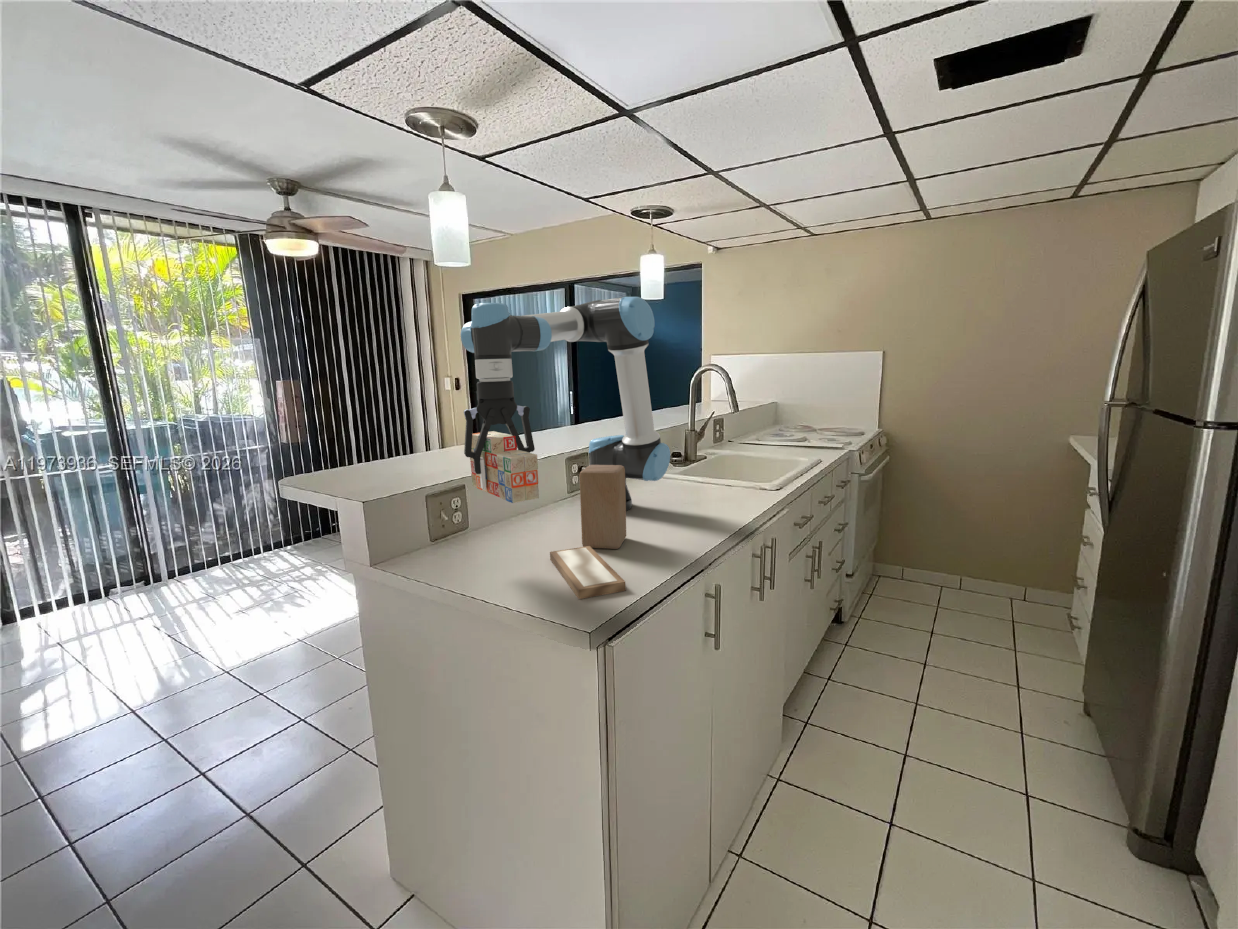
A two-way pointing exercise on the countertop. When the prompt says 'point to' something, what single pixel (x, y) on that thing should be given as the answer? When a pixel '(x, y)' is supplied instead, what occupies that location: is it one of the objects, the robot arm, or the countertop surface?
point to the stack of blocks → (506, 468)
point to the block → (603, 506)
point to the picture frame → (586, 572)
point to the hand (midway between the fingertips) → (502, 486)
